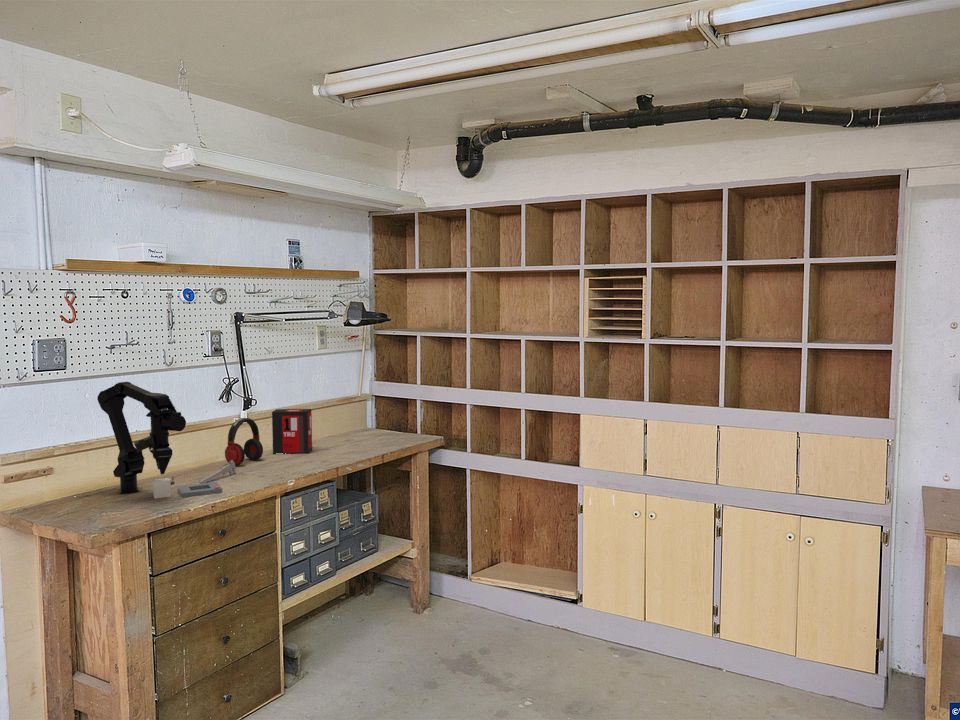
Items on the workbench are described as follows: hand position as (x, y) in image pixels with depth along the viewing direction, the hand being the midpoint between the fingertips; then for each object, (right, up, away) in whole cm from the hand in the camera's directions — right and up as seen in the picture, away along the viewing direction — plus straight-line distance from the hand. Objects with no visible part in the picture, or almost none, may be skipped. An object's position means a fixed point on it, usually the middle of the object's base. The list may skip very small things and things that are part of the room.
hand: (160, 471), depth 264 cm
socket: (+12, -9, +7) cm, 16 cm away
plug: (0, -9, +1) cm, 9 cm away
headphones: (+12, -5, +57) cm, 58 cm away
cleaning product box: (+27, -3, +80) cm, 85 cm away
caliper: (+11, -8, +26) cm, 29 cm away
